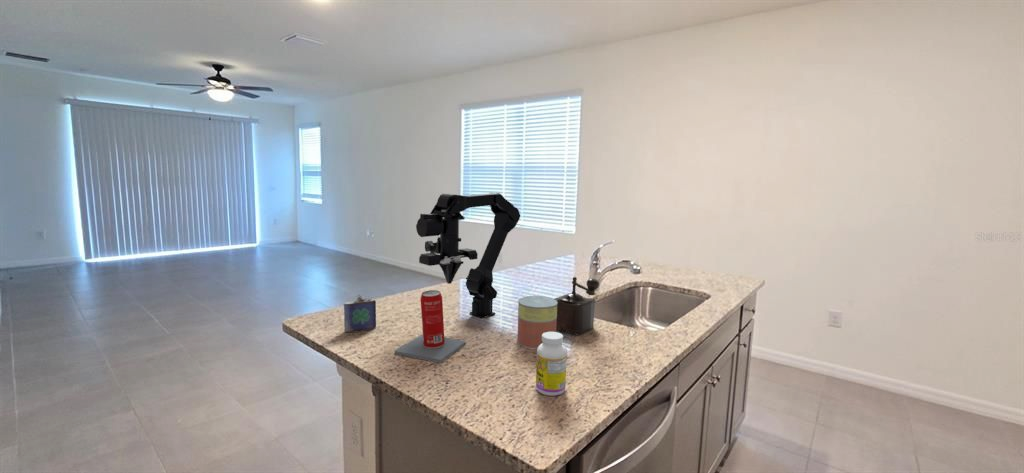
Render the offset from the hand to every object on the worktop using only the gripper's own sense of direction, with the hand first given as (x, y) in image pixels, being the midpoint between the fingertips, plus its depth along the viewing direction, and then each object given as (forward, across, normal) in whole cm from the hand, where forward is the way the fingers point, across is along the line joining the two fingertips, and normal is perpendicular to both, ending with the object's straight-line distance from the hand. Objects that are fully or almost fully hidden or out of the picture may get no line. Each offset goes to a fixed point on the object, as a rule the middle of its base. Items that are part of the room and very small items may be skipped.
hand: (449, 283), depth 141 cm
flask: (+13, +24, -12) cm, 30 cm away
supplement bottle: (+13, +9, +51) cm, 53 cm away
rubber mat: (+13, +16, +14) cm, 25 cm away
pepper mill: (+13, -27, +31) cm, 43 cm away
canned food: (+13, -10, +29) cm, 33 cm away
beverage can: (+12, +16, +14) cm, 24 cm away
